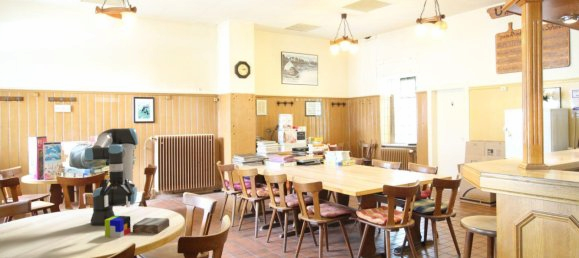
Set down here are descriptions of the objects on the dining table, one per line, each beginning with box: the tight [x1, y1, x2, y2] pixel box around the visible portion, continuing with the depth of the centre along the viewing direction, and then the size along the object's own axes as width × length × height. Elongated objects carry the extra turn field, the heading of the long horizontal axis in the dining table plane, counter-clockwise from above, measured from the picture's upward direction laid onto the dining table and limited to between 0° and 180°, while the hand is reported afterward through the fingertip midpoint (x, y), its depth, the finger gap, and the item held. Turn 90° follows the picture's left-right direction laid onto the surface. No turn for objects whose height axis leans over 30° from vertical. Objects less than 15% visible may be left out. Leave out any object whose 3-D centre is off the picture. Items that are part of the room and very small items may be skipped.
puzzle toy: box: [104, 215, 132, 239], centre depth 237 cm, size 10×10×10 cm
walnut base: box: [132, 217, 170, 234], centre depth 247 cm, size 16×16×5 cm
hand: (117, 206), depth 236 cm, fingers open, 13 cm apart
